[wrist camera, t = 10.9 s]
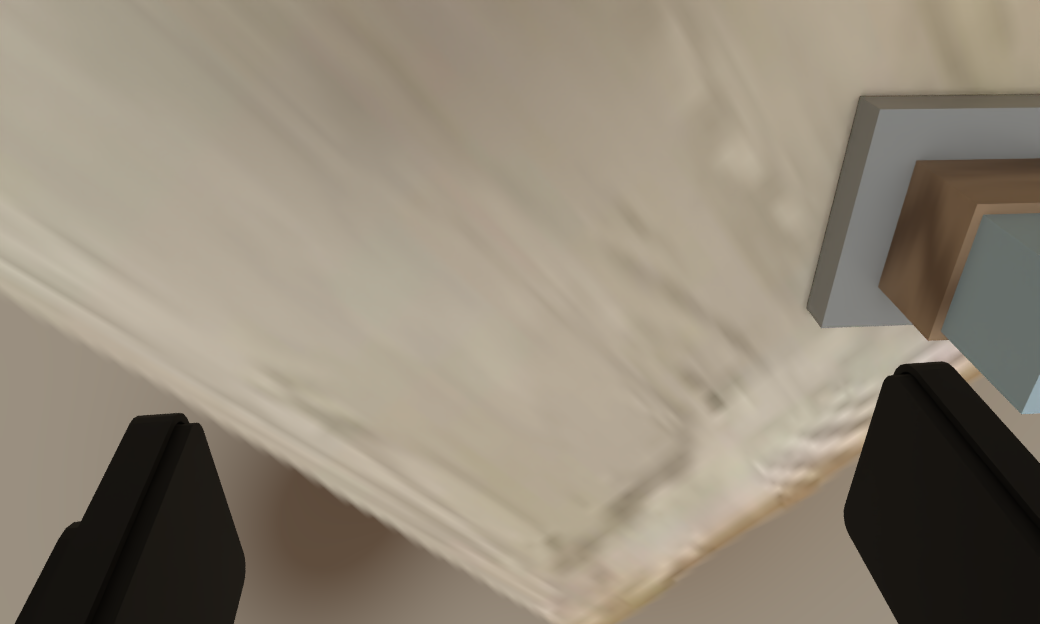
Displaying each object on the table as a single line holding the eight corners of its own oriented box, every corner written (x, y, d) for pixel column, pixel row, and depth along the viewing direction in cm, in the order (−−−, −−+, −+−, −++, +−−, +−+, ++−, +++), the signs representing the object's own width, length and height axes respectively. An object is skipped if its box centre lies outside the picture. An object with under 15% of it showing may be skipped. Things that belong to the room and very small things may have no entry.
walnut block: (916, 160, 37) (977, 204, 33) (1054, 158, 37) (1131, 200, 33) (877, 286, 41) (928, 340, 36) (1003, 282, 41) (1067, 335, 37)
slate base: (860, 96, 37) (880, 109, 35) (1095, 94, 38) (1125, 106, 36) (806, 308, 43) (821, 328, 42) (1008, 301, 44) (1030, 320, 43)
